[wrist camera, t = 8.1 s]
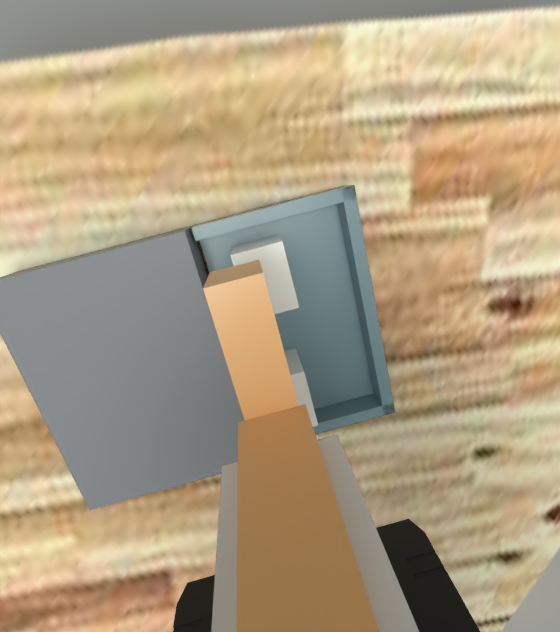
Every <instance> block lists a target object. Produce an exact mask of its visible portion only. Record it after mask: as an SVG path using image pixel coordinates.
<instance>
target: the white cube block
mask: <svg viewBox="0 0 560 632" xmlns="http://www.w3.org/2000/svg"><path fill="white" fill-rule="evenodd" d="M284 352H285V356H286V360H287V364H288V368H289V371H290V375H291V379H292V383H293V386H294V390H295V394H296V398H297V402H298V405H299V406H300V405H303V404H306V408H307V411H308V414H309V417H310V420H311V423H312V426H313V427H314V426H318V422H317V418H316V415H315V411H314V407H313V403H312V400H311V396H310V392H309V388H308V384H307V381H306V377H305V373H304V370H303V367H302V364H301V362H300V359H299V356H298V353H297V350H296V348H293V349H289V350H286V351H284Z"/></svg>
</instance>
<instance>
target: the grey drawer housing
mask: <svg viewBox="0 0 560 632" xmlns="http://www.w3.org/2000/svg"><path fill="white" fill-rule="evenodd" d="M192 227H193V226H189V227H186V228H182V229H178V230H174V231H170V232H167V233H163V234H159V235H155V236H151V237H148V238H144V239H140V240H136V241H132V242H129V243H125V244H121V245H117V246H113V247H110V248H106V249H102V250H98V251H94V252H91V253H87V254H83V255H79V256H75V257H72V258H68V259H64V260H60V261H56V262H53V263H49V264H45V265H41V266H37V267H34V268H30V269H26V270H22V271H18V272H15V273H12V274H9V275H6V276H3V277H0V334H1V336H2V338H3V340H4V342H5V344H6V345H7V347H8V349H9V351H10V353H11V355H12V357H13V359H14V361H15V363H16V365H17V367H18V369H19V371H20V373H21V375H22V377H23V379H24V381H25V383H26V385H27V387H28V389H29V391H30V393H31V395H32V397H33V399H34V401H35V403H36V405H37V407H38V409H39V411H40V413H41V415H42V417H43V419H44V421H45V423H46V425H47V427H48V429H49V431H50V433H51V435H52V437H53V438H54V440H55V442H56V444H57V446H58V448H59V450H60V452H61V454H62V456H63V458H64V460H65V462H66V464H67V466H68V468H69V470H70V472H71V474H72V476H73V478H74V480H75V482H76V484H77V486H78V488H79V490H80V492H81V494H82V496H83V498H84V500H85V502H86V504H87V506H88V508H89V510H92V509H95V508H99V507H102V506H106V505H110V504H113V503H117V502H121V501H124V500H128V499H132V498H135V497H139V496H142V495H146V494H150V493H153V492H157V491H161V490H164V489H168V488H172V487H175V486H179V485H183V484H186V483H190V482H193V481H197V480H201V479H204V478H208V477H212V476H215V475H219V474H222V466H225V465H229V464H232V463H236V462H238V422H241V421H245V420H244V417H243V413H242V410H241V407H240V404H239V401H238V398H237V394H236V391H235V388H234V385H233V382H232V379H231V375H230V372H229V369H228V366H227V363H226V360H225V356H224V353H223V350H222V347H221V344H220V340H219V337H218V334H217V331H216V328H215V325H214V321H213V318H212V315H211V312H210V309H209V306H208V302H207V299H206V296H205V293H204V290H203V288H204V285H205V283H206V280H207V278H208V273H207V270H206V266H205V263H204V260H203V257H202V253H201V250H200V247H199V244H198V241H195V238H194V235H193V232H192V229H191V228H192Z"/></svg>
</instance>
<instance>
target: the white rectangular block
mask: <svg viewBox="0 0 560 632" xmlns="http://www.w3.org/2000/svg"><path fill="white" fill-rule="evenodd" d="M230 256H231V259H232V262H233V266H236V265H240V264H244V263H247V262H251V261H255V260H259V261H260V264H261V267H262V270H263V273H264V277H265V281H266V284H267V288H268V292H269V296H270V300H271V303H272V307H273V311H274V314H278V313H281V312H285V311H289V310H292V309H296V308H299V305H298V301H297V297H296V293H295V289H294V285H293V281H292V277H291V273H290V269H289V265H288V261H287V257H286V253H285V249H284V245H283V242H282V240H281V239H280V238H279V237H278V236H277V235H276V234H275V235H272V236H268V237H264V238H261V239H257V240H253V241H250V242H246V243H242V244H239V245H235V246H232V248H231V255H230Z"/></svg>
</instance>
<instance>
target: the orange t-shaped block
mask: <svg viewBox="0 0 560 632" xmlns="http://www.w3.org/2000/svg"><path fill="white" fill-rule="evenodd" d="M203 290H204V293H205V296H206V299H207V302H208V306H209V309H210V312H211V315H212V318H213V321H214V325H215V328H216V331H217V334H218V337H219V340H220V344H221V347H222V350H223V353H224V356H225V360H226V363H227V366H228V369H229V372H230V375H231V379H232V382H233V385H234V388H235V391H236V394H237V398H238V401H239V404H240V407H241V410H242V413H243V417H244V420H245V421H241V422H238V495H237V632H379V629H378V626H377V623H376V620H375V617H374V614H373V611H372V608H371V605H370V602H369V599H368V595H367V592H366V589H365V586H364V583H363V580H362V577H361V574H360V571H359V568H358V565H357V562H356V559H355V555H354V552H353V549H352V546H351V543H350V540H349V537H348V534H347V531H346V528H345V525H344V522H343V518H342V515H341V512H340V509H339V506H338V503H337V500H336V497H335V494H334V491H333V488H332V485H331V481H330V478H329V475H328V472H327V469H326V466H325V463H324V460H323V457H322V454H321V451H320V448H319V445H318V441H317V438H316V435H315V432H314V429H313V426H312V423H311V420H310V417H309V414H308V411H307V408H306V404H303V405H300V406H299V405H298V402H297V398H296V394H295V390H294V386H293V383H292V379H291V375H290V371H289V368H288V364H287V360H286V356H285V352H284V349H283V345H282V341H281V337H280V334H279V330H278V326H277V322H276V318H275V315H274V311H273V307H272V303H271V300H270V296H269V292H268V288H267V284H266V281H265V277H264V273H263V270H262V267H261V264H260V261H259V260H255V261H251V262H247V263H244V264H240V265H236V266H232V267H229V268H225V269H221V270H217V271H213V272H210V273H209V276H208V278H207V280H206V283H205V285H204V288H203Z"/></svg>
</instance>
